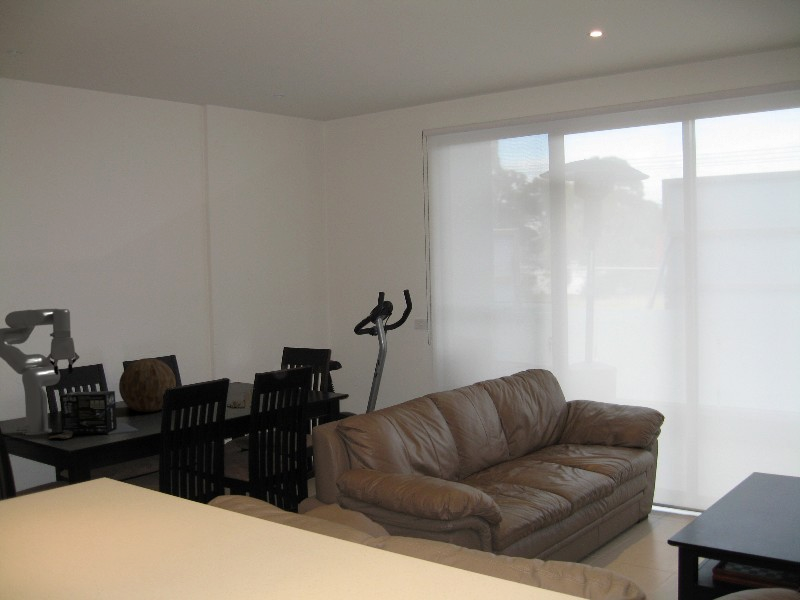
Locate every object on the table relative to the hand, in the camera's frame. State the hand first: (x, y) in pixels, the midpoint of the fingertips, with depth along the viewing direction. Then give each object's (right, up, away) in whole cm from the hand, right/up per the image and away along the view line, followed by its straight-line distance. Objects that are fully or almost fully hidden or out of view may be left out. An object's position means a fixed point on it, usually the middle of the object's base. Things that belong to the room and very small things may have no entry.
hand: (63, 373), depth 370 cm
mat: (+20, -29, +14) cm, 38 cm away
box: (+10, -29, +7) cm, 31 cm away
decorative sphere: (+20, -28, +64) cm, 73 cm away
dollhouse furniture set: (+70, -26, +74) cm, 105 cm away
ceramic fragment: (+7, -29, -6) cm, 31 cm away
